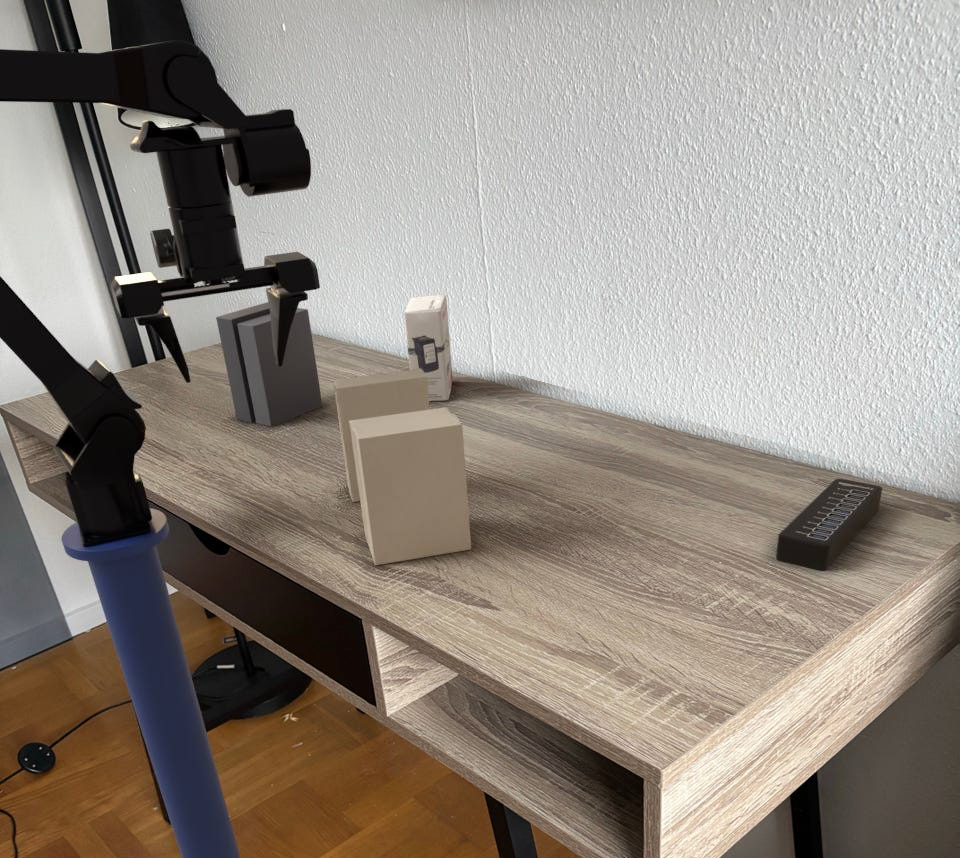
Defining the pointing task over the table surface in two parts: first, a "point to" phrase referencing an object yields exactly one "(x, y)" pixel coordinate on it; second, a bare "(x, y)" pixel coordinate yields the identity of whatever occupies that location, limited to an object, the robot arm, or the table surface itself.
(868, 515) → the multiport hub
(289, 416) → the grey books
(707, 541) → the table surface
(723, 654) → the table surface
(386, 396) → the white book
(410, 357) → the ink box
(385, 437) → the white books
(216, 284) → the robot arm
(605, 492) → the table surface
